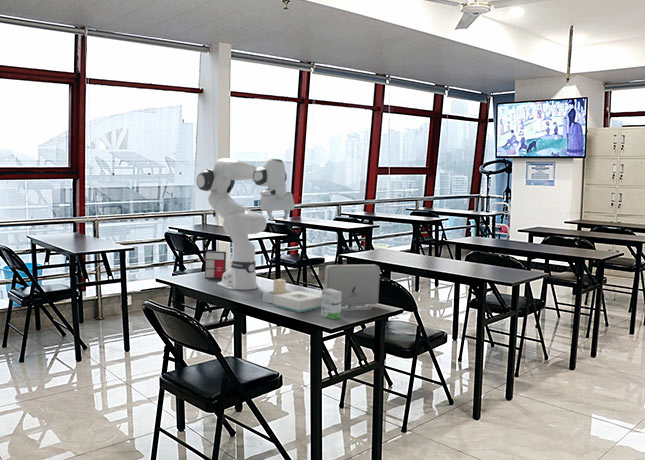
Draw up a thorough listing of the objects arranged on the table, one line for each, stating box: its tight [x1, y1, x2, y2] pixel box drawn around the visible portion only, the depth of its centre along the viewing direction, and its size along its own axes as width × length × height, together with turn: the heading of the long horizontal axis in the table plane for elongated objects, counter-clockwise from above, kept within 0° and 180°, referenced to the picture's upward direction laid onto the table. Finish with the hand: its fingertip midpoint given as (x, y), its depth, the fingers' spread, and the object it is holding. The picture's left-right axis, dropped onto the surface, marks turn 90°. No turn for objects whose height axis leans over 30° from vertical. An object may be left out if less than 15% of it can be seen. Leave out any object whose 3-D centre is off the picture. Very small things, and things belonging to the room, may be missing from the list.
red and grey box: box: [204, 250, 227, 280], centre depth 335 cm, size 11×4×15 cm, turn 88°
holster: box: [262, 288, 295, 305], centre depth 284 cm, size 8×14×4 cm, turn 138°
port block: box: [273, 290, 322, 313], centre depth 273 cm, size 16×16×5 cm
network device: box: [323, 263, 381, 312], centre depth 274 cm, size 26×9×20 cm, turn 108°
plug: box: [273, 278, 287, 295], centre depth 284 cm, size 4×4×10 cm
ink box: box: [320, 288, 342, 320], centre depth 256 cm, size 9×5×12 cm, turn 37°
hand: (278, 220), depth 291 cm, fingers open, 8 cm apart
